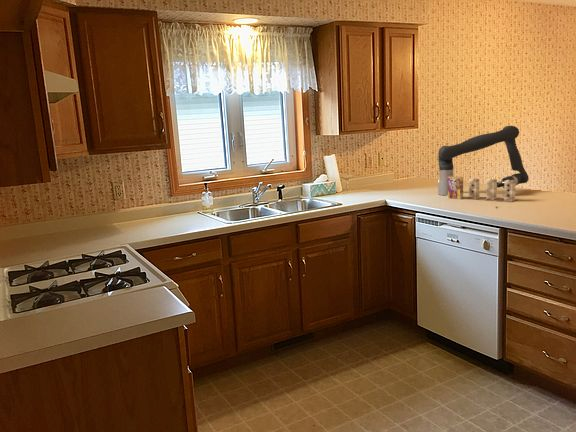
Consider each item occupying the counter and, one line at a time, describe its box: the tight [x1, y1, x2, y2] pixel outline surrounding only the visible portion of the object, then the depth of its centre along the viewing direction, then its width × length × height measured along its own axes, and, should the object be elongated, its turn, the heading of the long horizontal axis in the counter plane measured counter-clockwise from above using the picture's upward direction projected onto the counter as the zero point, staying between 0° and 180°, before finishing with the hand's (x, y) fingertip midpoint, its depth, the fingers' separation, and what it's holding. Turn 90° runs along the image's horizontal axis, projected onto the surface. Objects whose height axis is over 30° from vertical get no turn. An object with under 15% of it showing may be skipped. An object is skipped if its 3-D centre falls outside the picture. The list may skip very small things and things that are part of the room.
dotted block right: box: [503, 180, 516, 201], centre depth 294 cm, size 4×5×12 cm
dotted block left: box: [468, 177, 480, 199], centre depth 310 cm, size 4×5×12 cm
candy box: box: [447, 175, 464, 200], centre depth 314 cm, size 9×4×15 cm, turn 39°
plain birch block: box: [485, 178, 498, 200], centre depth 302 cm, size 4×4×12 cm
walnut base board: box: [464, 196, 519, 203], centre depth 303 cm, size 30×10×2 cm, turn 44°
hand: (497, 185), depth 308 cm, fingers closed
